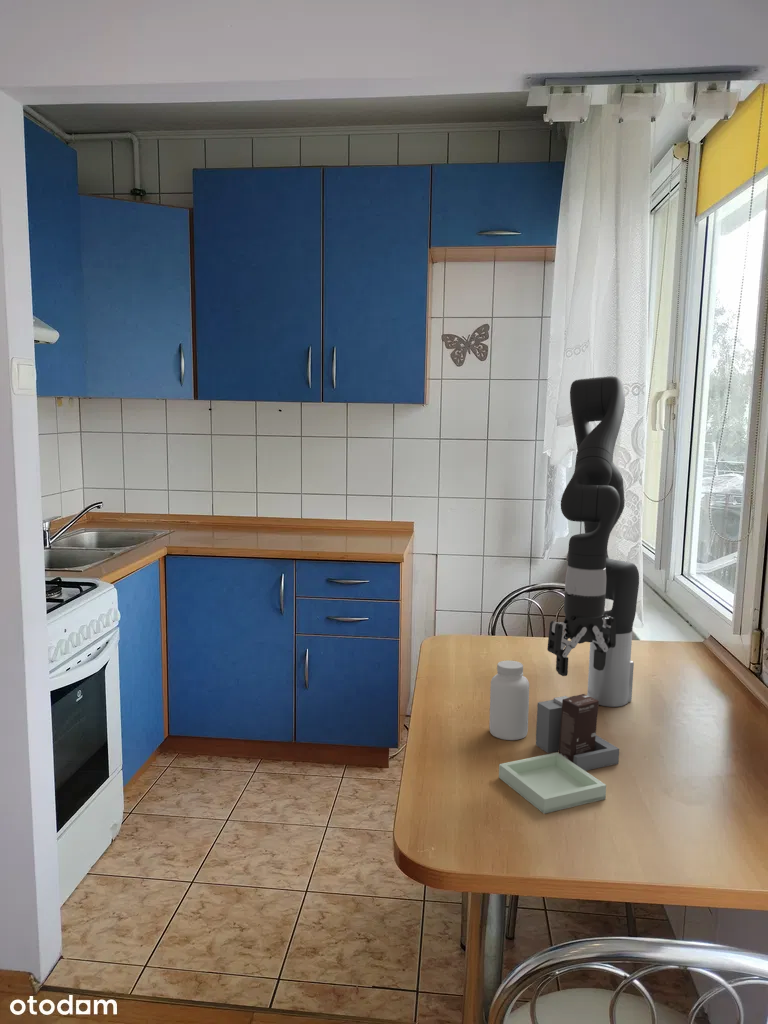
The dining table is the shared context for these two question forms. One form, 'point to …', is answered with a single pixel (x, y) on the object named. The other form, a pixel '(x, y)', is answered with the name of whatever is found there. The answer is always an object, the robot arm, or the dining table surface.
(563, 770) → the tray
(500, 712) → the pill bottle
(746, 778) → the dining table surface
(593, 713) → the box
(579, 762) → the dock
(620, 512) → the robot arm
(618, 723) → the dining table surface
